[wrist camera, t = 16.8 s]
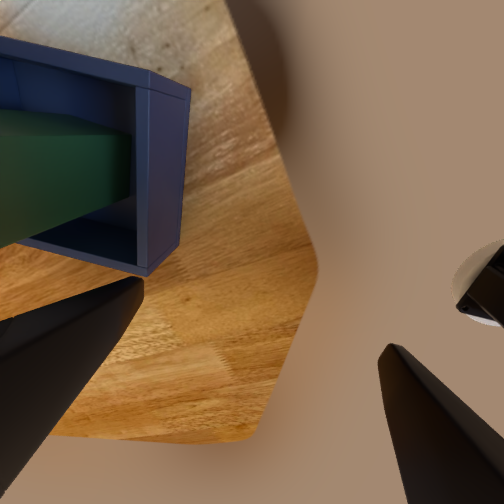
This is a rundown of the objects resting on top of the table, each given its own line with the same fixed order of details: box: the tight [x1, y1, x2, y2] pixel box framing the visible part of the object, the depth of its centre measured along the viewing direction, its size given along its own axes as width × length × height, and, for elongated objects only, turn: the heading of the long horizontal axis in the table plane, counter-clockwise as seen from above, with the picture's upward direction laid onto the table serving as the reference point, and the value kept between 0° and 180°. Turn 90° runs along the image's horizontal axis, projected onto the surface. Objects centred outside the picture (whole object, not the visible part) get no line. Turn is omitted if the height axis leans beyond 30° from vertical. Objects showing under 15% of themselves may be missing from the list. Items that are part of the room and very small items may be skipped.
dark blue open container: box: [0, 36, 191, 277], centre depth 18 cm, size 14×13×6 cm
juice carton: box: [0, 109, 132, 248], centre depth 14 cm, size 5×5×13 cm
